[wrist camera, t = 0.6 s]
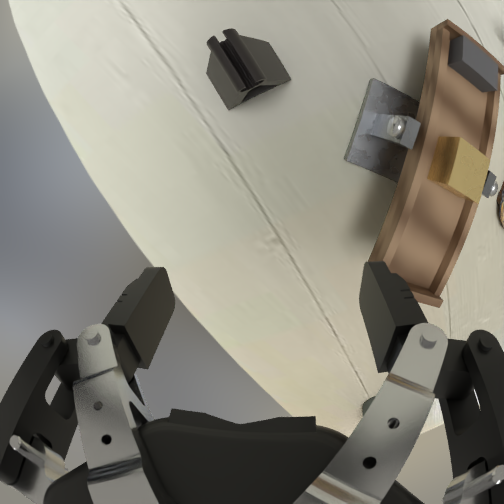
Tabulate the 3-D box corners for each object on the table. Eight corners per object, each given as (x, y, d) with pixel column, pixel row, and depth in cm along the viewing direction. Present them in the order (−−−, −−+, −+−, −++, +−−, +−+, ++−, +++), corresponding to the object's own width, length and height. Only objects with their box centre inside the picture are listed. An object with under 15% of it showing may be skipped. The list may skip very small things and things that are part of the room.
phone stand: (268, 43, 27) (264, 11, 16) (291, 80, 29) (297, 63, 19) (206, 73, 29) (174, 58, 19) (228, 110, 32) (204, 109, 21)
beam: (430, 28, 18) (447, 19, 14) (487, 71, 18) (505, 68, 14) (362, 273, 29) (374, 290, 25) (424, 291, 29) (439, 307, 26)
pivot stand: (370, 79, 27) (405, 69, 18) (467, 136, 28) (513, 151, 19) (344, 158, 33) (369, 178, 24) (442, 204, 34) (481, 235, 24)
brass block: (438, 136, 21) (460, 136, 18) (468, 156, 22) (490, 160, 18) (427, 178, 23) (448, 184, 19) (457, 196, 23) (478, 204, 20)
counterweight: (449, 40, 17) (463, 34, 14) (483, 68, 17) (498, 64, 14) (447, 65, 18) (462, 60, 15) (482, 92, 18) (497, 90, 16)
